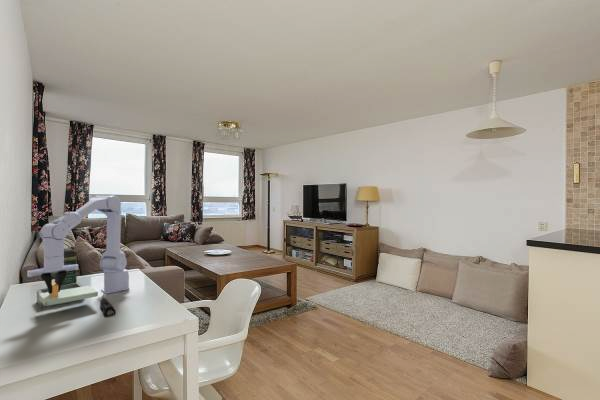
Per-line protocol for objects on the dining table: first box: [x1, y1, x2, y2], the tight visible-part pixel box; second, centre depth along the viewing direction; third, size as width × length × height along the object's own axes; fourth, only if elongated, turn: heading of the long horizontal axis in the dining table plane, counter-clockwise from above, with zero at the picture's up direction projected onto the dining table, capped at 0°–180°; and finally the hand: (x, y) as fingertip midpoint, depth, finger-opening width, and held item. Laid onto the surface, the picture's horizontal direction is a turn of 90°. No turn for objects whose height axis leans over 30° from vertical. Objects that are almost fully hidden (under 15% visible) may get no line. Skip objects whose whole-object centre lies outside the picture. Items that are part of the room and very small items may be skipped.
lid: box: [39, 282, 99, 306], centre depth 114 cm, size 16×12×6 cm
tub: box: [36, 282, 84, 309], centre depth 124 cm, size 14×10×5 cm
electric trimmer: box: [99, 297, 117, 318], centre depth 114 cm, size 4×16×3 cm, turn 41°
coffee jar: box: [54, 247, 78, 285], centre depth 140 cm, size 10×8×19 cm
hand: (54, 292), depth 111 cm, fingers closed on lid
